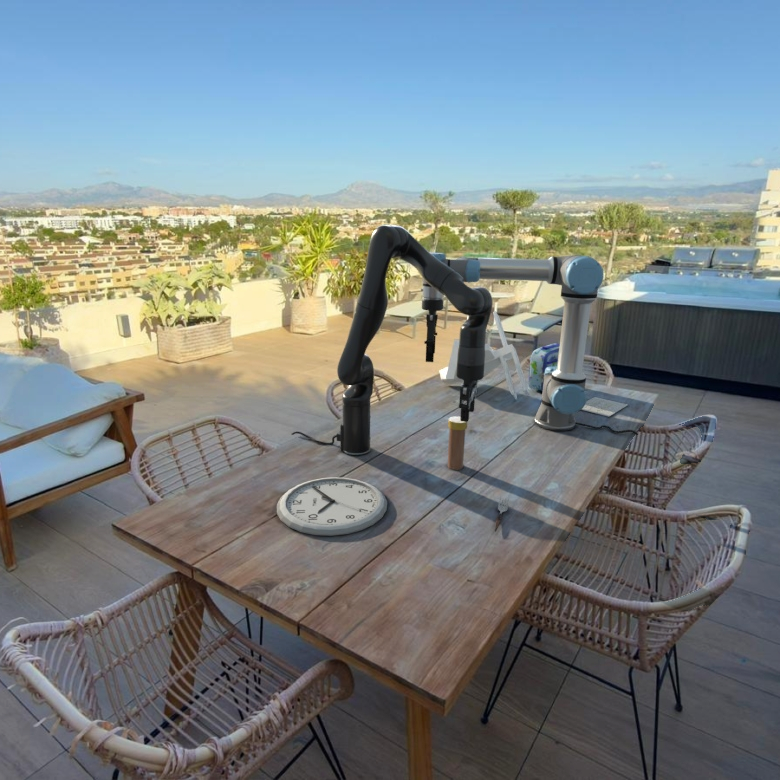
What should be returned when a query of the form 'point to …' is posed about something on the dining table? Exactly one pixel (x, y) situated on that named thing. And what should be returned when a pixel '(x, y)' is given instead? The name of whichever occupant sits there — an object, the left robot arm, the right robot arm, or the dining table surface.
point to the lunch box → (542, 364)
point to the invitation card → (603, 406)
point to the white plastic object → (488, 362)
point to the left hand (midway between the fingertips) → (467, 416)
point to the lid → (456, 423)
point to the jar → (456, 449)
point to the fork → (501, 509)
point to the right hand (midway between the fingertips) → (430, 357)
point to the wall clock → (331, 506)
